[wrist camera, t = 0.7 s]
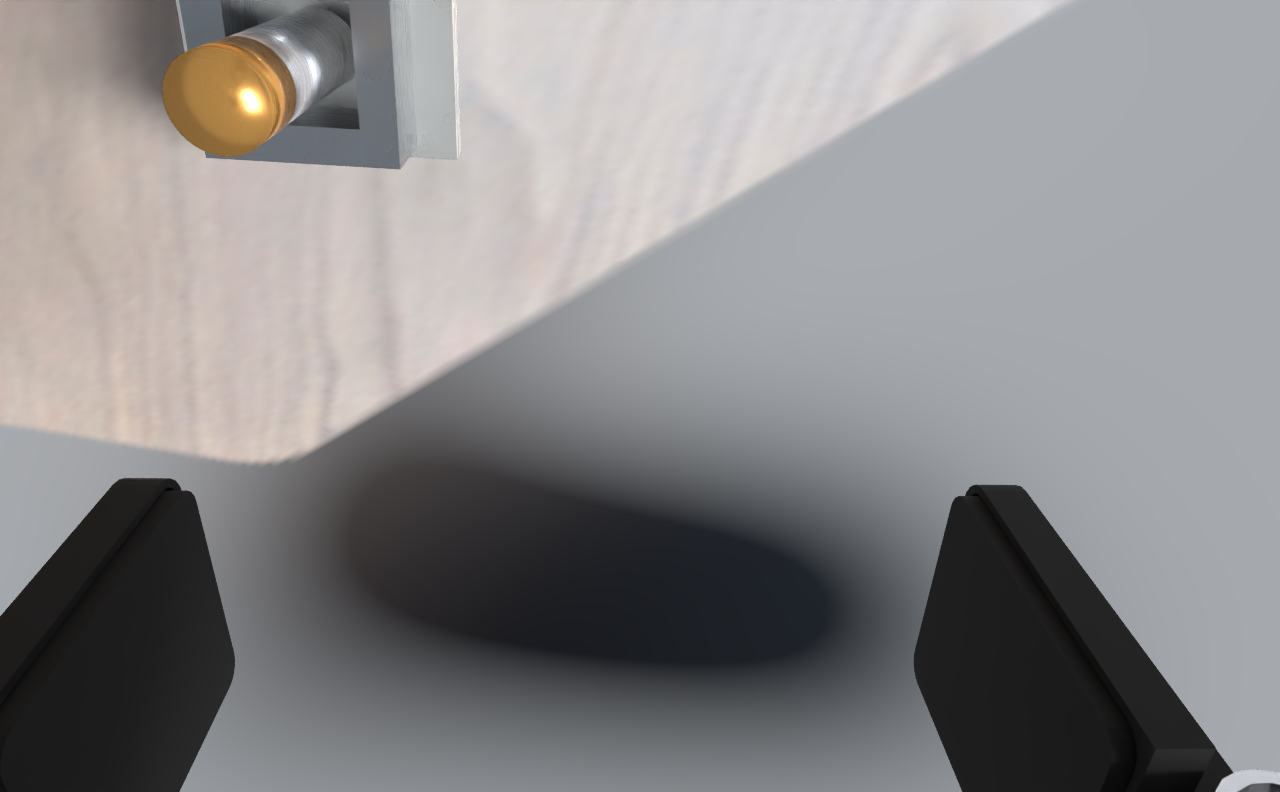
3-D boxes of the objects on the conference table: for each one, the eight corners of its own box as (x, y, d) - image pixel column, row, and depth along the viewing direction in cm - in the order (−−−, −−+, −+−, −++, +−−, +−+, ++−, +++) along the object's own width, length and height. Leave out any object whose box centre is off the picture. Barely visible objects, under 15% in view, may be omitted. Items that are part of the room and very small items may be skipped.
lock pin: (274, 3, 29) (152, 43, 21) (355, 9, 29) (264, 51, 21) (284, 86, 30) (173, 153, 23) (362, 91, 31) (278, 159, 23)
